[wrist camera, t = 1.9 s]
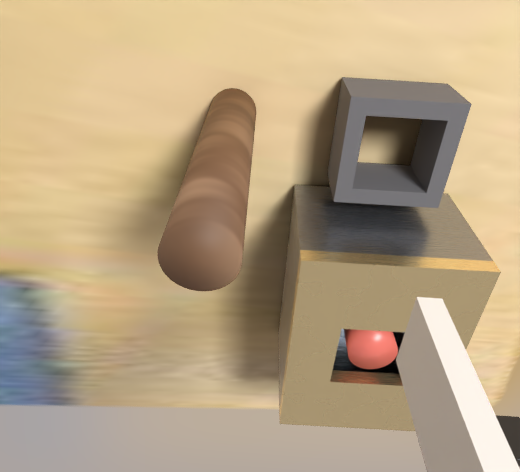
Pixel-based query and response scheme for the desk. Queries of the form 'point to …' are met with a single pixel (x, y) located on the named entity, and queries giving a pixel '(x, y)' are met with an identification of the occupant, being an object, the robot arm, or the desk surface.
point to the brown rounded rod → (213, 199)
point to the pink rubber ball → (370, 348)
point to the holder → (426, 149)
